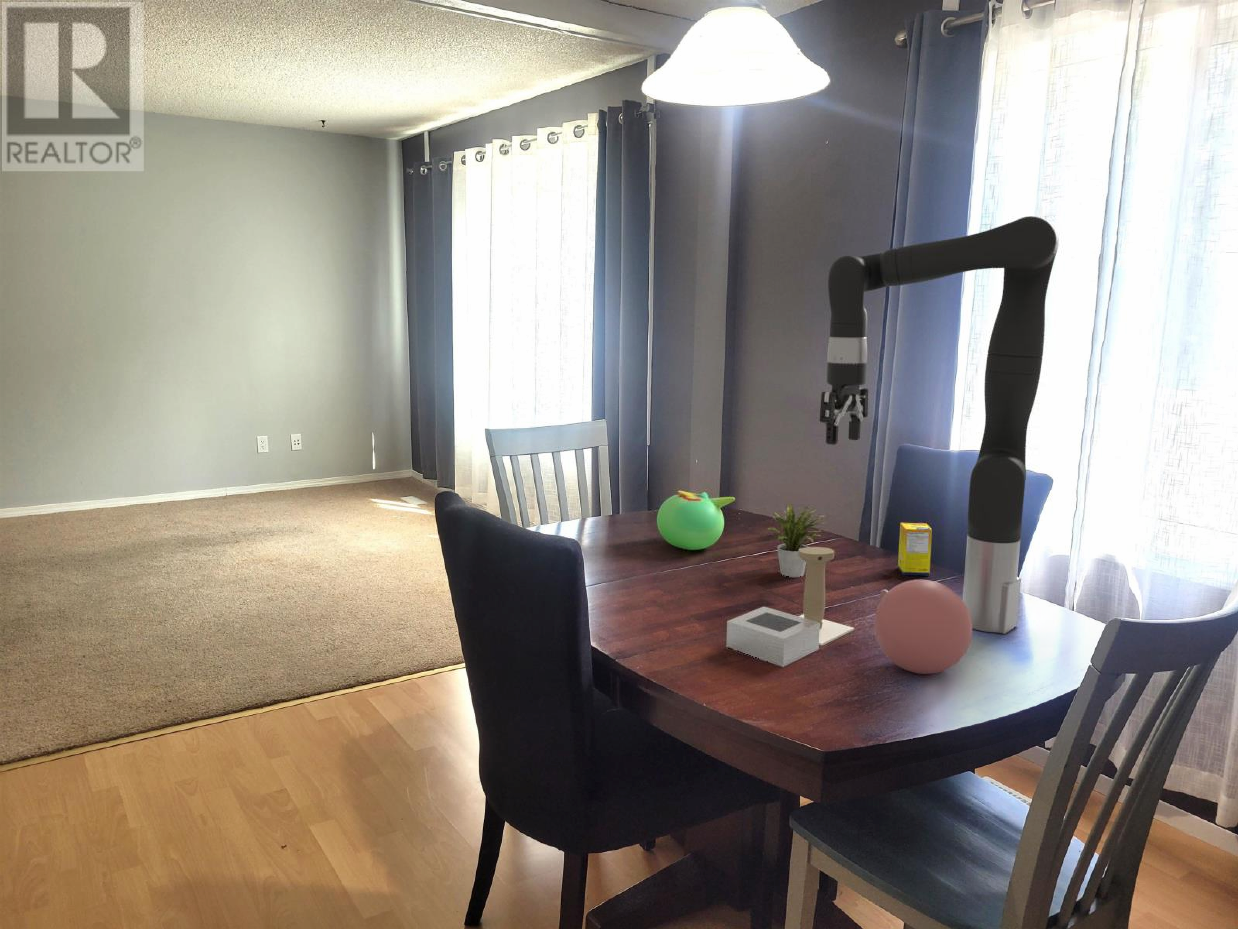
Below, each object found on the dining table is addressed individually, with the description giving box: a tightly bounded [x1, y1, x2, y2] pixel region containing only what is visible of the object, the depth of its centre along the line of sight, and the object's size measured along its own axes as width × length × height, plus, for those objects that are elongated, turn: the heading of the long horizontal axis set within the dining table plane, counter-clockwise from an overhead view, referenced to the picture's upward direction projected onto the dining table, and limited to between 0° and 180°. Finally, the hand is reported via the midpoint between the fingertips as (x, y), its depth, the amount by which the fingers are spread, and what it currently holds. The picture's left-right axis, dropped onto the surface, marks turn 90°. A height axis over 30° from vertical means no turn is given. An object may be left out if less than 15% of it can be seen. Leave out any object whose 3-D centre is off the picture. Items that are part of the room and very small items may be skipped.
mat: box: [798, 613, 855, 646], centre depth 168 cm, size 11×11×1 cm
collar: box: [726, 606, 820, 668], centre depth 158 cm, size 12×11×5 cm
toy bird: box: [656, 490, 736, 551], centre depth 223 cm, size 18×17×15 cm
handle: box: [799, 546, 835, 629], centre depth 166 cm, size 5×6×15 cm
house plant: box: [766, 502, 830, 578], centre depth 200 cm, size 14×14×16 cm
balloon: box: [873, 579, 973, 675], centre depth 151 cm, size 15×20×15 cm
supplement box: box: [897, 522, 933, 577], centre depth 203 cm, size 6×6×11 cm
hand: (843, 441), depth 179 cm, fingers open, 8 cm apart
